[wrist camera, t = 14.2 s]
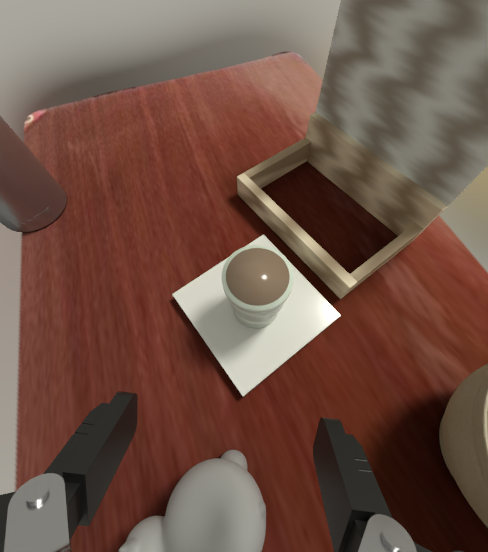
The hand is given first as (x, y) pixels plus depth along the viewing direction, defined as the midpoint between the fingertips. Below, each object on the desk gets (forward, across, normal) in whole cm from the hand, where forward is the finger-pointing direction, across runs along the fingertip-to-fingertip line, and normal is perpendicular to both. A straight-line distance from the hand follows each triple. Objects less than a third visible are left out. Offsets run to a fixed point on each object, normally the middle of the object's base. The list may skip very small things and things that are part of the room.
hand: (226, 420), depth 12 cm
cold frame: (+30, -10, -8) cm, 33 cm away
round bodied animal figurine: (+8, +2, +18) cm, 20 cm away
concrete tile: (+21, -2, +4) cm, 21 cm away
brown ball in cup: (+20, -2, +3) cm, 20 cm away
